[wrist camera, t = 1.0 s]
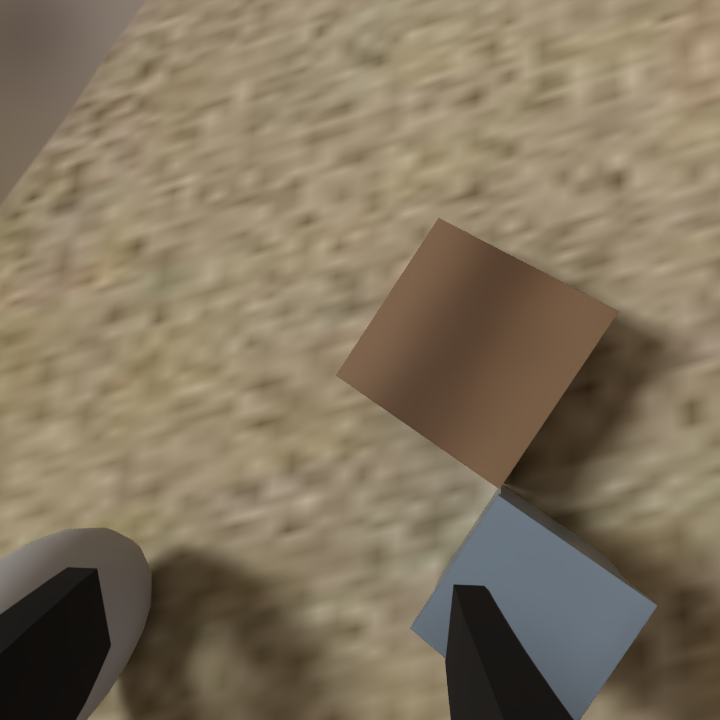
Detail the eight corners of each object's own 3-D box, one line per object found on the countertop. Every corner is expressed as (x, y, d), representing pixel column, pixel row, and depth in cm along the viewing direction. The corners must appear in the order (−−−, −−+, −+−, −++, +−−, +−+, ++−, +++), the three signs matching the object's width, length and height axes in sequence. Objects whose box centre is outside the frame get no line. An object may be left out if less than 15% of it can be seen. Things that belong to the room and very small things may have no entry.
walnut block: (602, 329, 20) (618, 311, 17) (500, 481, 20) (499, 488, 17) (446, 245, 22) (438, 218, 19) (357, 382, 23) (335, 375, 20)
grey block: (609, 552, 18) (657, 605, 13) (540, 655, 19) (557, 752, 13) (499, 478, 20) (498, 495, 14) (436, 573, 20) (410, 628, 14)
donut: (143, 498, 24) (-86, 538, 15) (198, 528, 23) (-12, 593, 14) (66, 689, 24) (-219, 856, 14) (118, 729, 23) (-154, 937, 13)
